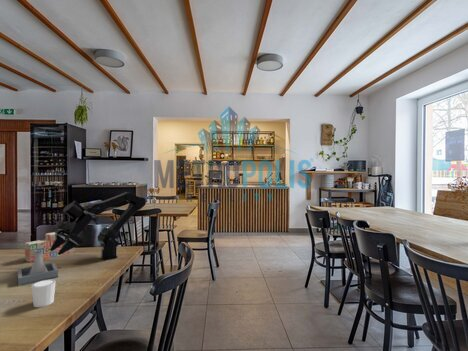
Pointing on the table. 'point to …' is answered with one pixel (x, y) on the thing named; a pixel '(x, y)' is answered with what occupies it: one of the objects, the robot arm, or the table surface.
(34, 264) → the light grey vase
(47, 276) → the tray
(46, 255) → the stack of blocks
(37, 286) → the white cup
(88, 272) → the table surface
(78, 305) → the table surface
